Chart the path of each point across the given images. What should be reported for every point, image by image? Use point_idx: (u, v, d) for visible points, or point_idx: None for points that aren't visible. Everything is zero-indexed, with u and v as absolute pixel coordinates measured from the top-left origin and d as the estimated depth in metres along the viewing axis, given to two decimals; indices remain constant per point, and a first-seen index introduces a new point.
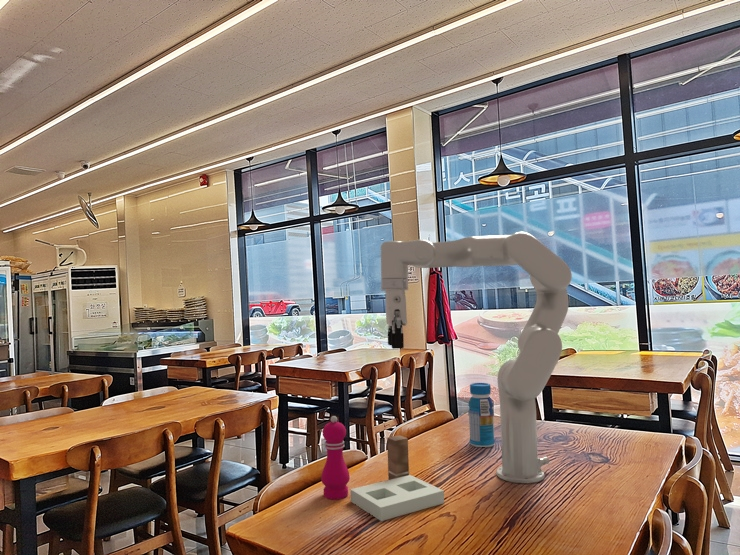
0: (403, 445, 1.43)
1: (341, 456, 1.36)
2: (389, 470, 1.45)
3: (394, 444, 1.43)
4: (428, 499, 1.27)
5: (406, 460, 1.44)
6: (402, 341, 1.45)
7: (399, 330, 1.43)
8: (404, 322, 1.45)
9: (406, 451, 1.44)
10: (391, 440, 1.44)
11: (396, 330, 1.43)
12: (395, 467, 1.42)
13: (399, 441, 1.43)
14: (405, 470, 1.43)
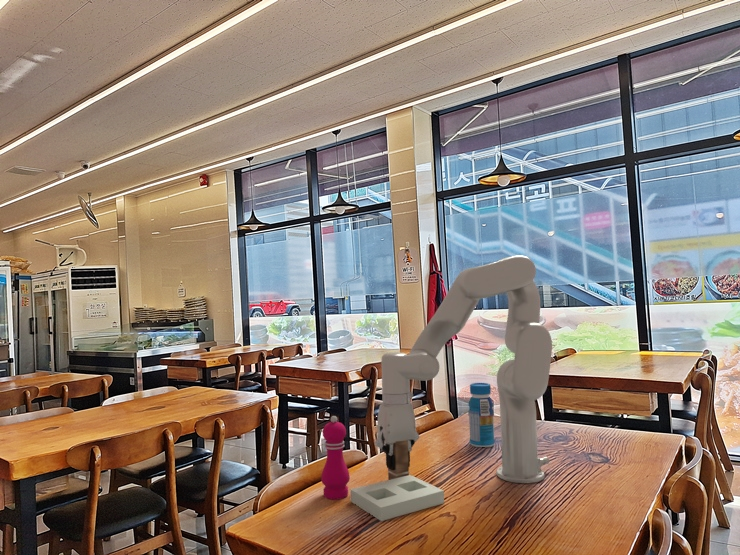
0: (403, 445, 1.43)
1: (341, 456, 1.36)
2: (389, 470, 1.45)
3: (394, 444, 1.42)
4: (428, 499, 1.27)
5: (406, 460, 1.44)
6: None
7: None
8: None
9: (406, 451, 1.44)
10: None
11: None
12: (395, 467, 1.42)
13: (399, 441, 1.43)
14: (405, 470, 1.43)
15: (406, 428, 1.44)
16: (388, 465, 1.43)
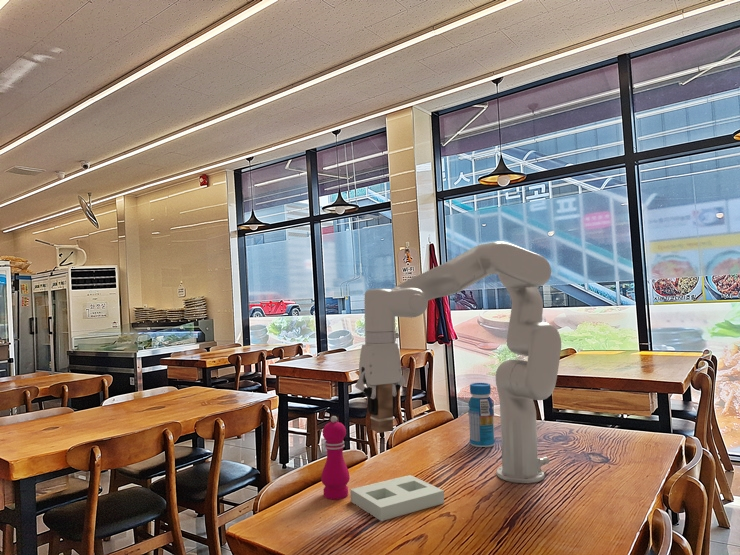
0: (387, 388, 1.31)
1: (341, 456, 1.36)
2: (371, 416, 1.32)
3: (377, 387, 1.30)
4: (428, 499, 1.27)
5: (390, 405, 1.31)
6: None
7: None
8: None
9: (390, 395, 1.32)
10: None
11: None
12: None
13: None
14: (389, 416, 1.31)
15: (390, 370, 1.31)
16: (370, 410, 1.30)
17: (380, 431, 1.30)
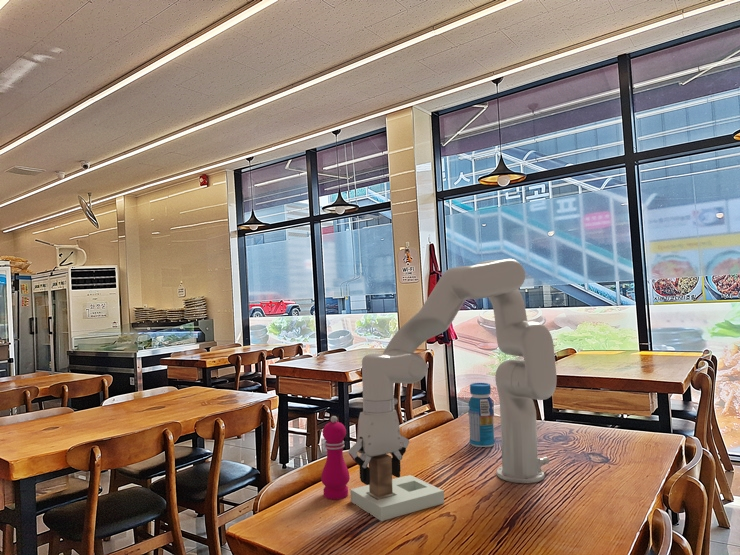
0: (386, 464, 1.28)
1: (341, 456, 1.36)
2: (370, 492, 1.29)
3: (376, 463, 1.27)
4: (428, 499, 1.27)
5: (389, 481, 1.28)
6: None
7: None
8: None
9: (389, 471, 1.28)
10: (373, 458, 1.28)
11: None
12: (376, 490, 1.27)
13: (381, 460, 1.27)
14: (388, 492, 1.28)
15: (389, 439, 1.28)
16: (362, 479, 1.26)
17: None
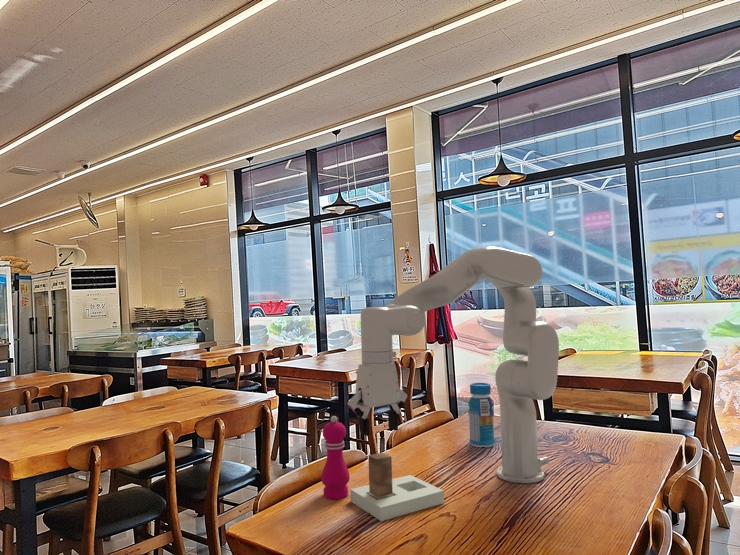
0: (386, 464, 1.28)
1: (341, 456, 1.36)
2: (370, 492, 1.29)
3: (376, 463, 1.27)
4: (428, 499, 1.27)
5: (389, 481, 1.28)
6: None
7: None
8: None
9: (389, 471, 1.28)
10: (373, 458, 1.28)
11: None
12: (376, 490, 1.27)
13: (381, 460, 1.27)
14: (388, 492, 1.28)
15: (388, 390, 1.28)
16: (361, 430, 1.26)
17: None
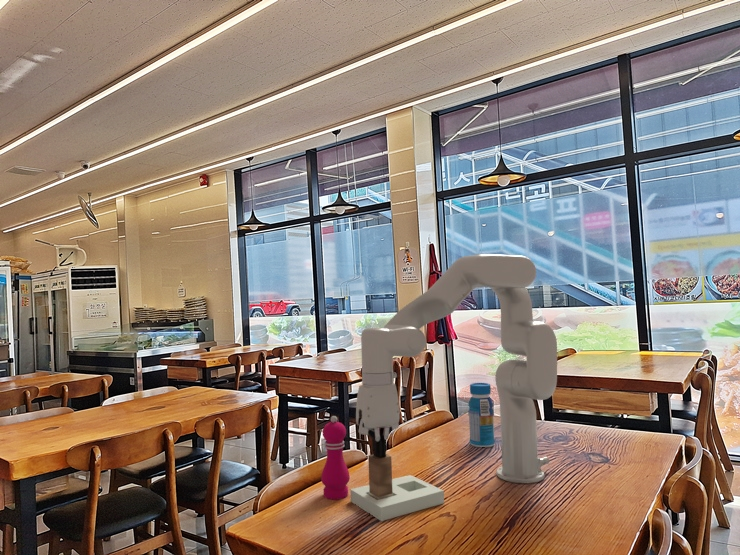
0: (386, 464, 1.28)
1: (341, 456, 1.36)
2: (370, 492, 1.29)
3: (376, 463, 1.27)
4: (428, 499, 1.27)
5: (389, 481, 1.28)
6: None
7: None
8: None
9: (389, 471, 1.28)
10: (372, 459, 1.28)
11: None
12: (376, 490, 1.27)
13: (381, 460, 1.27)
14: (388, 492, 1.28)
15: (388, 412, 1.28)
16: (375, 452, 1.28)
17: None
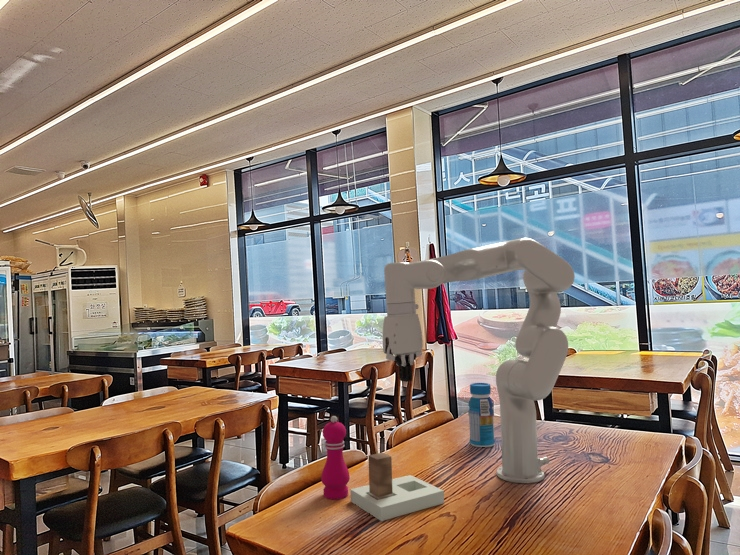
0: (386, 464, 1.28)
1: (341, 456, 1.36)
2: (370, 492, 1.29)
3: (376, 463, 1.27)
4: (428, 499, 1.27)
5: (389, 481, 1.28)
6: None
7: None
8: None
9: (389, 471, 1.28)
10: (373, 458, 1.28)
11: None
12: (376, 490, 1.27)
13: (381, 460, 1.27)
14: (388, 492, 1.28)
15: (413, 339, 1.38)
16: (401, 377, 1.38)
17: None
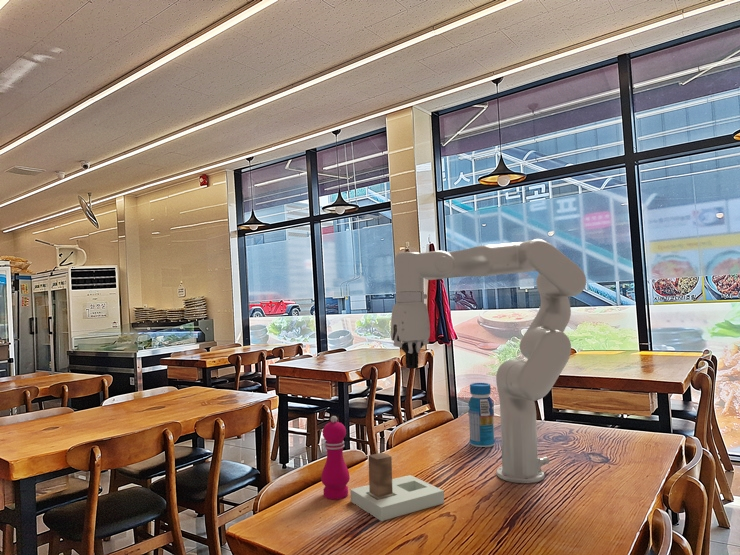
0: (386, 464, 1.28)
1: (341, 456, 1.36)
2: (370, 492, 1.29)
3: (376, 463, 1.27)
4: (428, 499, 1.27)
5: (389, 481, 1.28)
6: None
7: None
8: None
9: (389, 471, 1.28)
10: (373, 458, 1.28)
11: None
12: (376, 490, 1.27)
13: (381, 460, 1.27)
14: (388, 492, 1.28)
15: (420, 327, 1.41)
16: (408, 364, 1.41)
17: None
